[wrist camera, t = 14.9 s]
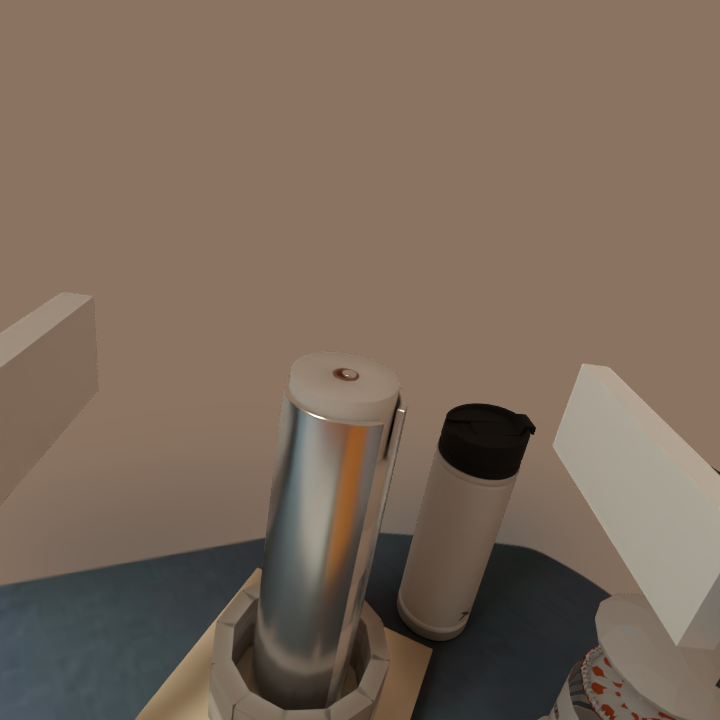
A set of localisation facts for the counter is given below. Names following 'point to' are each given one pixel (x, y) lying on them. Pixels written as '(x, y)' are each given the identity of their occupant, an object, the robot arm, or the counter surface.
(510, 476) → the travel mug
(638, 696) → the french press
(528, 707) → the counter surface
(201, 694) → the collar
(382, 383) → the metal cylinder
